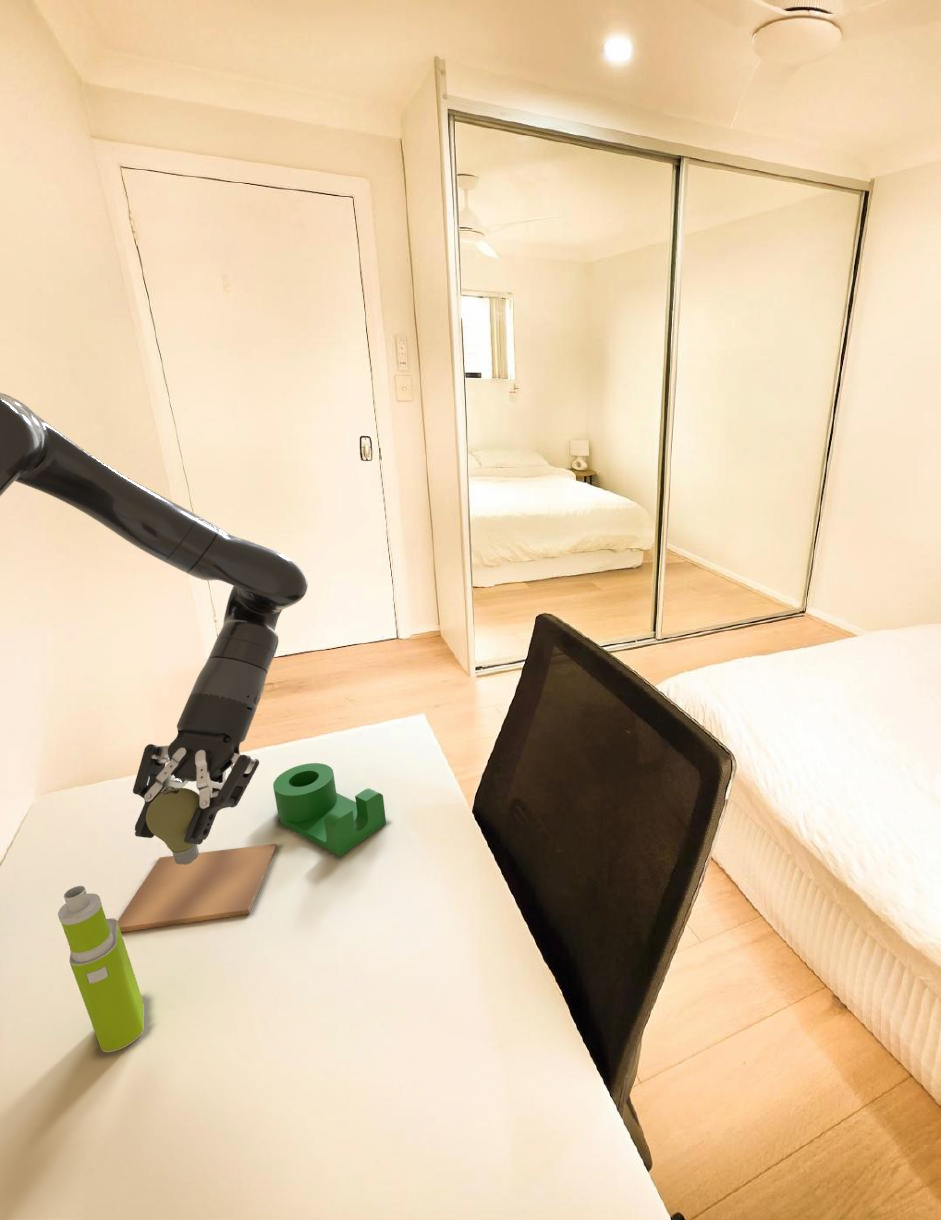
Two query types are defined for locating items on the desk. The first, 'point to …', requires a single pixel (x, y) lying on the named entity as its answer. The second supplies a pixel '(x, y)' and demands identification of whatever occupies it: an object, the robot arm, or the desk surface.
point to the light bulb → (174, 821)
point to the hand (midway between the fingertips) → (168, 839)
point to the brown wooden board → (199, 888)
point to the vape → (102, 970)
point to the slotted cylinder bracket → (326, 808)
